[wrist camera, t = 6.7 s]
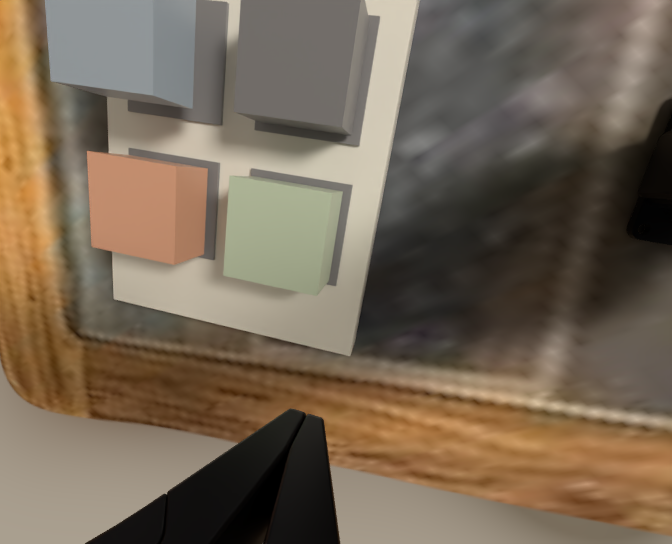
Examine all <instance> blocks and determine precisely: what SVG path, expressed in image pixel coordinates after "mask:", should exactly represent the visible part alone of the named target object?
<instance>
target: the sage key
mask: <svg viewBox="0 0 672 544" xmlns="http://www.w3.org/2000/svg"><path fill="white" fill-rule="evenodd" d="M342 194H343V191H337V190H331V189H326V188H320V187H314V186H308V185H302V184H296V183H290V182H285V181H279V180H273V179H267V178H261V177H255V176H230V177H229V192H228V208H227V224H226V239H225V255H224V271H223V276H227V277H232V278H236V279H241V280H246V281H250V282H255V283H259V284H264V285H268V286H273V287H278V288H282V289H287V290H291V291H296V292H300V293H305V294H310V295H314V296H317V295H318V294H319V293H320V291H321V290H322V289H323V288H324V286H325V285H326V284H327V282H328V281H329V277H330V271H331V264H332V258H333V251H334V245H335V239H336V232H337V226H338V220H339V213H340V207H341V201H342Z"/></svg>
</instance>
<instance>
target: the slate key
mask: <svg viewBox="0 0 672 544" xmlns="http://www.w3.org/2000/svg"><path fill="white" fill-rule="evenodd" d="M45 7H46V21H47V34H48V48H49V61H50V75H51V81H52V82H56V83H59V84H63V85H66V86H70V87H73V88H77V89H80V90H84V91H88V92H91V93H95V94H98V95H102V96H106V97H113V98H120V99H127V100H134V101H141V102H148V103H155V104H162V105H168V106H175V107H182V108H189V109H193V84H194V53H195V22H196V0H45Z"/></svg>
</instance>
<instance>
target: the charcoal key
mask: <svg viewBox="0 0 672 544" xmlns="http://www.w3.org/2000/svg"><path fill="white" fill-rule="evenodd" d="M369 22H370V21H369V16H368V12H367V7H366V3H365V0H241V4H240V20H239V35H238V51H237V67H236V83H235V98H234V112H235V113H238V114H240V115H243V116H245V117H247V118H250V119H252V120H255V121H257V122H262V123H268V124H275V125H282V126H289V127H296V128H303V129H310V130H316V131H323V132H330V133H337V134H344V135H351V136H352V130H353V124H354V118H355V111H356V105H357V99H358V92H359V86H360V79H361V73H362V67H363V60H364V54H365V48H366V41H367V35H368V29H369Z"/></svg>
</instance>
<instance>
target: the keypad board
mask: <svg viewBox="0 0 672 544" xmlns="http://www.w3.org/2000/svg"><path fill="white" fill-rule="evenodd" d="M419 2H420V0H365V3H366V7H367V12H368V16H369V21H370V22H369V29H368V35H367V41H366V48H365V54H364V60H363V67H362V73H361V79H360V86H359V92H358V99H357V105H356V111H355V118H354V124H353V130H352V136H351V135H344V134H337V133H330V132H323V131H316V130H310V129H303V128H296V127H289V126H282V125H275V124H268V123H262V122H257V121H255V120H252V119H250V118H247V117H245V116H243V115H240V114H238V113H235V112H234V98H235V83H236V67H237V51H238V35H239V20H240V4H241V0H196V22H195V53H194V84H193V109H189V108H182V107H175V106H168V105H162V104H155V103H148V102H141V101H134V100H127V99H120V98H113V97H107V113H108V143H109V153H114V154H124V155H132V156H138V157H144V158H150V159H156V160H161V161H167V162H173V163H179V164H185V165H191V166H197V167H203V168H208V178H207V200H206V221H205V243H204V254H203V255H201V256H198V257H195V258H192V259H189V260H187V261H184V262H181V263H178V264H176V265H172V264H168V263H163V262H158V261H154V260H149V259H145V258H140V257H136V256H131V255H126V254H122V253H117V252H113V251H112V265H113V295H114V299H115V300H119V301H124V302H128V303H132V304H136V305H140V306H144V307H148V308H152V309H157V310H161V311H165V312H169V313H173V314H177V315H181V316H186V317H190V318H194V319H198V320H202V321H206V322H210V323H215V324H219V325H223V326H227V327H231V328H235V329H239V330H243V331H248V332H252V333H256V334H260V335H264V336H268V337H272V338H277V339H281V340H285V341H289V342H293V343H297V344H301V345H306V346H310V347H314V348H318V349H322V350H326V351H330V352H335V353H339V354H343V355H347V356H350V355H351V352H352V349H353V346H354V343H355V339H356V334H357V329H358V323H359V318H360V313H361V307H362V302H363V297H364V292H365V286H366V281H367V276H368V271H369V265H370V260H371V255H372V250H373V244H374V239H375V234H376V229H377V223H378V218H379V213H380V208H381V202H382V197H383V192H384V186H385V181H386V176H387V171H388V165H389V160H390V155H391V150H392V144H393V139H394V134H395V129H396V123H397V118H398V113H399V108H400V102H401V97H402V92H403V87H404V81H405V76H406V71H407V65H408V60H409V55H410V50H411V44H412V39H413V34H414V29H415V23H416V18H417V13H418V8H419ZM230 176H255V177H261V178H267V179H273V180H279V181H285V182H290V183H296V184H302V185H308V186H314V187H320V188H326V189H331V190H337V191H343V194H342V201H341V207H340V213H339V220H338V226H337V232H336V239H335V245H334V251H333V258H332V264H331V271H330V277H329V281H328V282H327V284H326V285H325V286H324V288H323V289H322V290H321V291H320V293H319V294H318V295H317V296H314V295H310V294H305V293H300V292H296V291H291V290H287V289H282V288H278V287H273V286H268V285H264V284H259V283H255V282H250V281H246V280H241V279H236V278H232V277H227V276H223V271H224V255H225V239H226V224H227V208H228V192H229V177H230Z"/></svg>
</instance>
